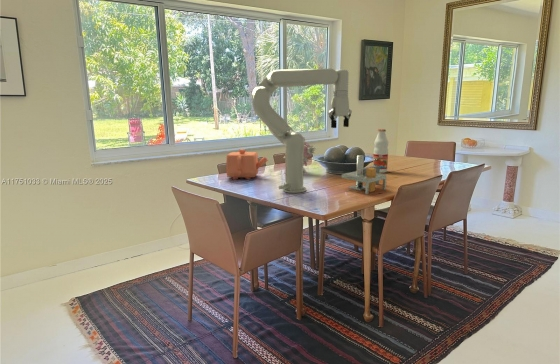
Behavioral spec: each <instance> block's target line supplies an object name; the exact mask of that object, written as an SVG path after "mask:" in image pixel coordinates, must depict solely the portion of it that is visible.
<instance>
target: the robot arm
mask: <svg viewBox="0 0 560 364" xmlns="http://www.w3.org/2000/svg"><path fill="white" fill-rule="evenodd" d="M332 84H333V97H332V98H331V101H330V102H331V104H330V110H329V111H327V113H328V114H327V115H328V117H329V120H330V121H331V122H330V123H331V124H330V127H331V128H332V129H336V128H337V118H338V117H343V118H344V119H343V127H344V128H349V127H350V126H349V125H350V119H351V116H352V112H353V111H352V110H351V109H350V102H349V101H350V100H349V70H348V69H333V68H310V69H309V68H295V69H294V68H293V69H292V68H291V69H289V68H288V69H275V70H272V71H269V73H268V74H267V75H266V76H265V77H264V78H263V79H262V80H261V81H260V82H259V84H258V85H257V86H255V87H254V89H252V93H251V98H252V107H253V111H254V113H255V115H256V116H257V117H258V119H259V120H260V121H261V122H262V123H263V124H264V125H265V126H266V127H267V128H268V131H269V132H270V133H271V134H272V135H273V136H274V137H275V138H276V139H277V140H278V141H279V142H280V143H282V145H283V146H285V153H286V154H285V153H284V156H285V158H284V159H285V163H284V164H285V182H283V184H282V185H279V186H278V190H282V192H284V193H289V194H299V193H304V192H306V191H307V187H305V186H304V171H303V167H304V165H303V152H305V151H304V146H305V145H304V138H305V137H304V136H303V135H302V134H301V133H300V132H298V131H295V130H294V129H293V128H292V127H291V126H290V125H289V124H288V122H287V120H286V119H285V118H283V117H282V116H281V115H280V114H279V113H278V112H277V110H275V109H274V108H273V107H272V106H271V104H270V99H271V95H272V94H273V93H275V91H277V89H278V88H293V87H294V88H296V87H307V86H314V85H317V86H318V85H325V86H326V85H332ZM303 137H304V138H303Z"/></svg>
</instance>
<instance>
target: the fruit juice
mask: <svg viewBox="0 0 560 364" xmlns="http://www.w3.org/2000/svg"><path fill="white" fill-rule="evenodd" d="M386 132H387V131H386V129H385V128H378V129H377V134H376V137H375V139H374V143H373V145H374V148H373V152H372V153H373V155H372V156H373V157H372V166H380V171H379V174H384V173H387V172H388V161H389V149H388V146H389V140H388V138H387V136H386ZM373 159H375V160H376V159H377V160H376V161H373Z"/></svg>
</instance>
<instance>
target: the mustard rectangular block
mask: <svg viewBox="0 0 560 364" xmlns="http://www.w3.org/2000/svg"><path fill="white" fill-rule="evenodd" d="M366 168H367V167H366ZM366 176H368V177H376V169H375V168H367V171H366ZM375 182H376V181H374V182H370V183H369V192H370V193H371V192H375V191H376V184H375Z"/></svg>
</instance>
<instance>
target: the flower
mask: <svg viewBox="0 0 560 364" xmlns="http://www.w3.org/2000/svg"><path fill="white" fill-rule="evenodd" d="M303 138H304V152H303V172H306V173H307V169H306V168H305V167H307V166H308V162H309V160H310V159H309V158H308V157H310V156H313V154H315V151H316V148H315V147H314V145H312V144H311V145H310V144H309V143H308V142H307V141H306V139H305V137H304V136H303ZM285 154H286V152H285V153H284V156H283V157H282V159H285ZM304 166H305V167H304Z"/></svg>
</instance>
